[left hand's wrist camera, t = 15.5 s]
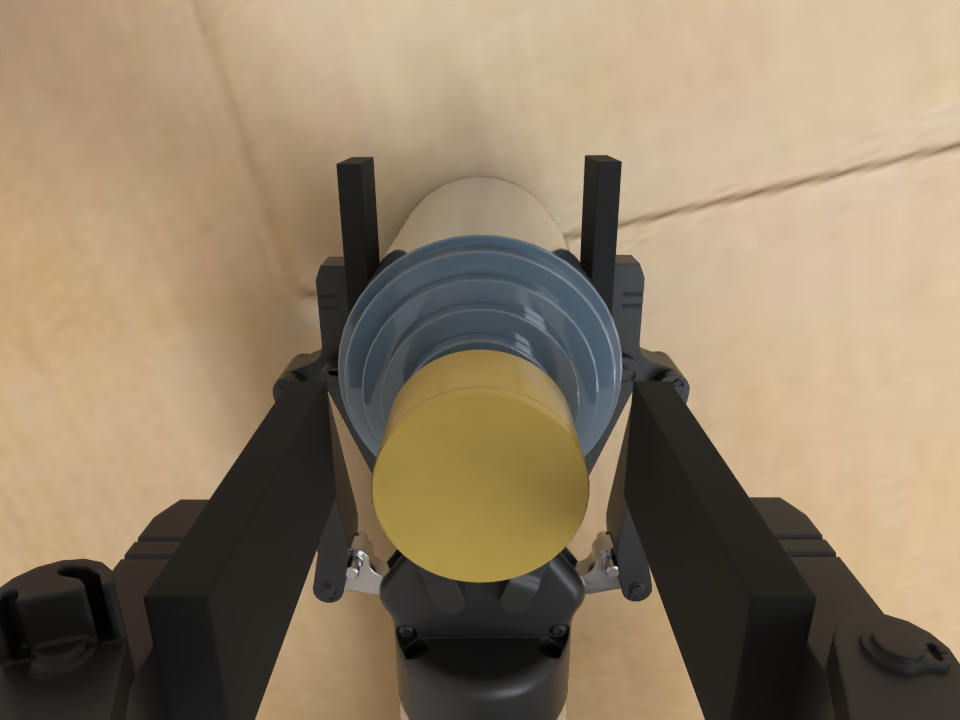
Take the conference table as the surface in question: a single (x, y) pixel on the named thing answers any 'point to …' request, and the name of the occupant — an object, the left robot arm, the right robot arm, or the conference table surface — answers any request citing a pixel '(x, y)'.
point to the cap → (480, 468)
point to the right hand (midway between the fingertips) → (478, 160)
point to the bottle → (480, 306)
